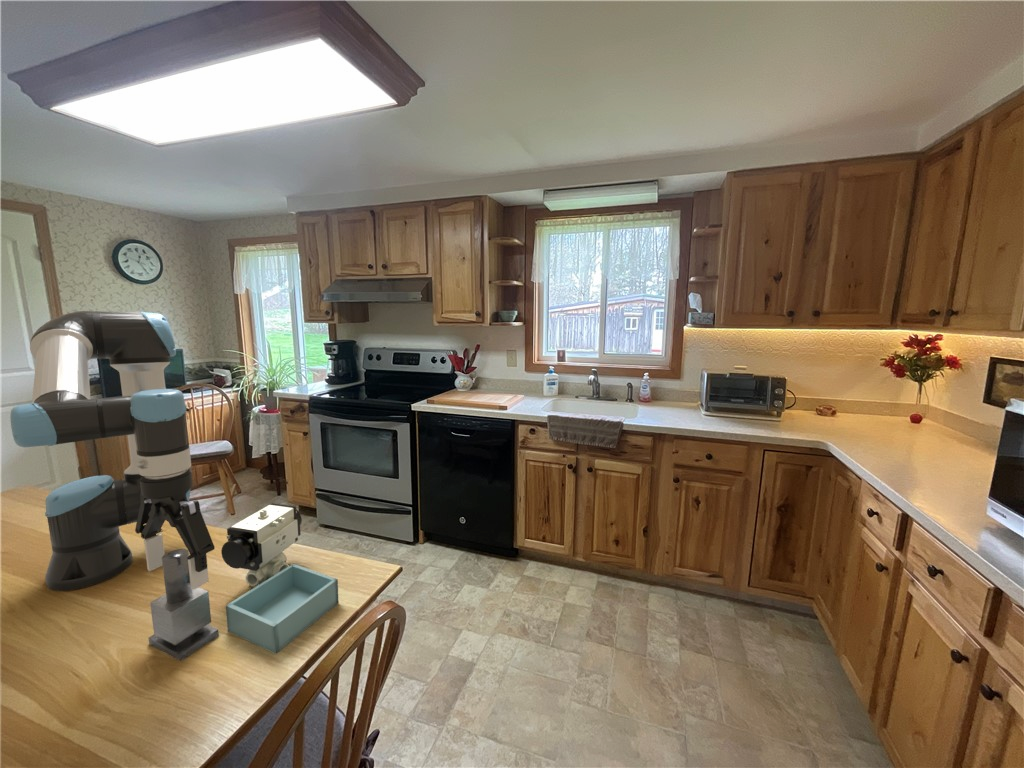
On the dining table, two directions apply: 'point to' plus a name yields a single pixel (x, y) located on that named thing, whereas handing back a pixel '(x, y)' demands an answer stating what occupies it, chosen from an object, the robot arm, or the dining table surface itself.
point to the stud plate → (185, 643)
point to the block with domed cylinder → (179, 601)
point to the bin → (282, 607)
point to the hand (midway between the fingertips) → (177, 576)
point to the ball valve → (262, 542)
